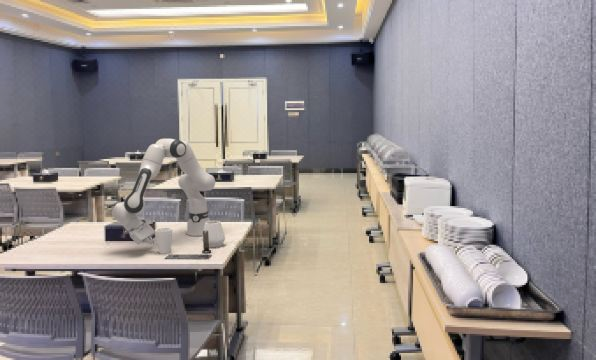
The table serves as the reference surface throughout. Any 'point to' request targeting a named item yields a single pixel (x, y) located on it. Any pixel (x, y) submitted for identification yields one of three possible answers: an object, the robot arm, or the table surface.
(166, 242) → the foam cup
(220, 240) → the white bulging cylinder
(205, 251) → the post
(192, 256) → the hole plate
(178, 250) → the table surface
